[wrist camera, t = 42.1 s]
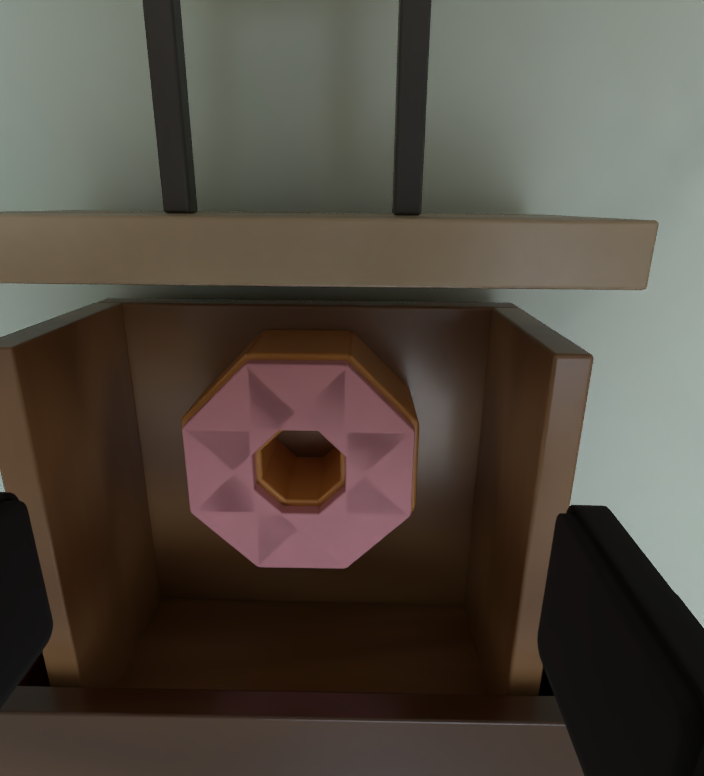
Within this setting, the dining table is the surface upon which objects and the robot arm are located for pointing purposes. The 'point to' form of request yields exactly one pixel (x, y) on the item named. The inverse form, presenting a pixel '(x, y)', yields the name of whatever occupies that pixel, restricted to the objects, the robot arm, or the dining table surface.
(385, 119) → the dining table surface
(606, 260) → the drawer
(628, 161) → the dining table surface
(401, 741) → the cabinet
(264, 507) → the donut
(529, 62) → the dining table surface
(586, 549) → the robot arm
